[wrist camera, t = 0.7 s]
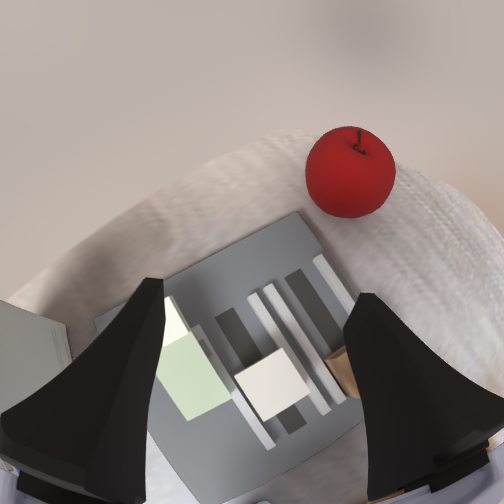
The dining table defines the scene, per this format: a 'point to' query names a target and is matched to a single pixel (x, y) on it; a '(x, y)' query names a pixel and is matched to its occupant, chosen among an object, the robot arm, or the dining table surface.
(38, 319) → the skincare box
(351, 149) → the apple
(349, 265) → the dining table surface
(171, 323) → the sage rocker
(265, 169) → the dining table surface
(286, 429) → the control board
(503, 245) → the dining table surface
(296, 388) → the white cube
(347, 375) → the brown cube
